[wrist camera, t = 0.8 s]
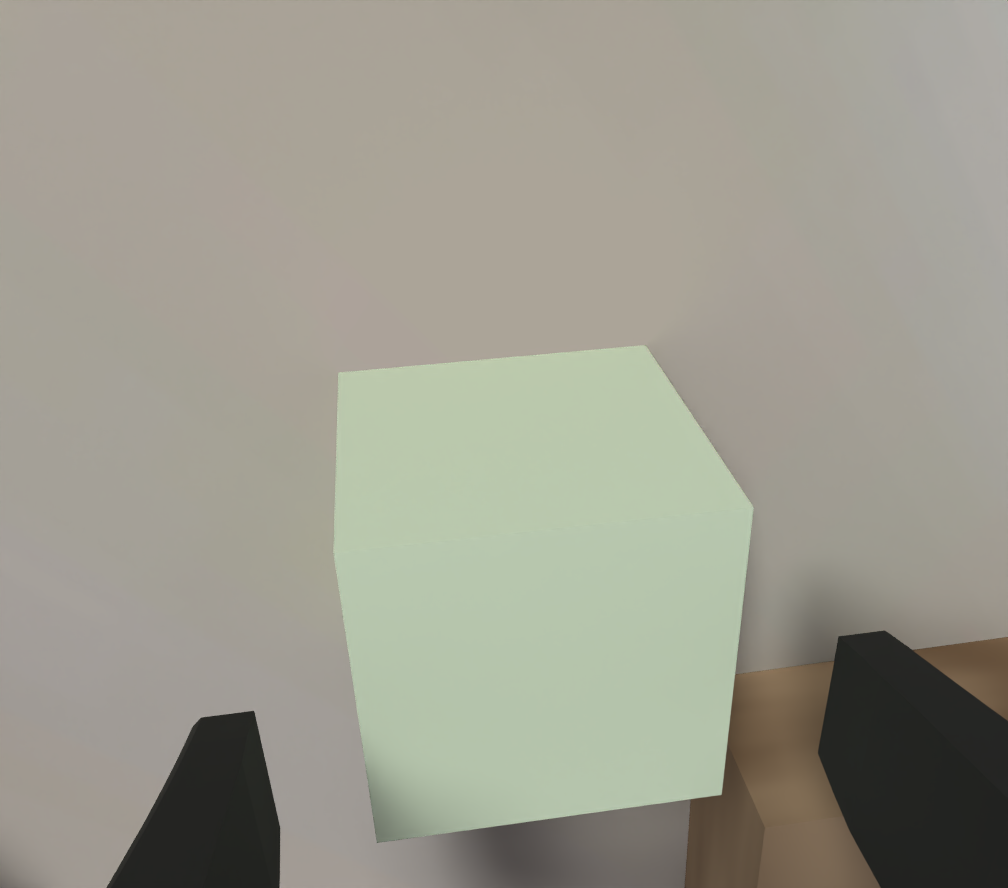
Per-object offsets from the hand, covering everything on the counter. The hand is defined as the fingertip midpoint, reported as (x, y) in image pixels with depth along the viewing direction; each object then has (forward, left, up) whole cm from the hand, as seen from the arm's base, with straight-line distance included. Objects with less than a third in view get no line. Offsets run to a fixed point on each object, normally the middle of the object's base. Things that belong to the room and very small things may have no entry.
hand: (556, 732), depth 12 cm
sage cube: (0, 0, -6) cm, 6 cm away
